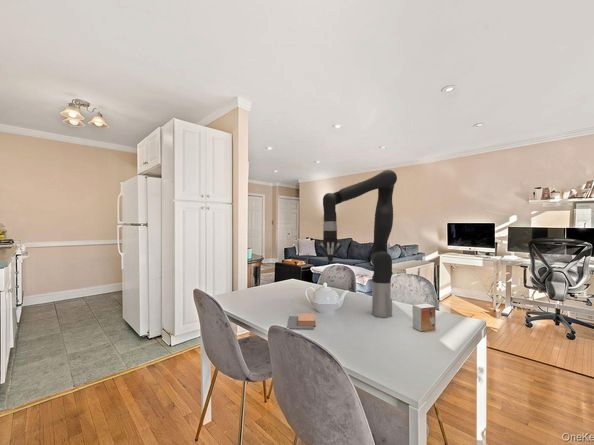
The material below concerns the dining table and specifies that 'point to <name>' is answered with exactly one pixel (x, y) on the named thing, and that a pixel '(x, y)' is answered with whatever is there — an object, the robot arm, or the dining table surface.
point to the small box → (424, 317)
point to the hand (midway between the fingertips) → (330, 261)
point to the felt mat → (296, 323)
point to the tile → (306, 319)
